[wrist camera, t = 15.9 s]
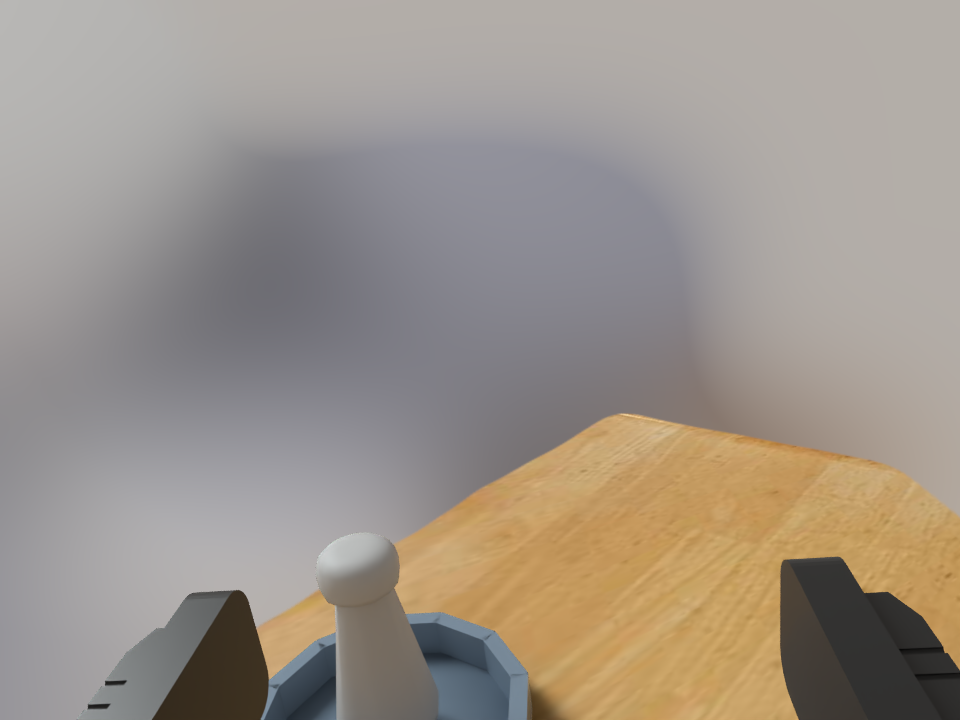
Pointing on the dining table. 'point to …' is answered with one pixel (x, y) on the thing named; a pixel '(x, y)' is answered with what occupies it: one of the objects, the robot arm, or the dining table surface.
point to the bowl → (450, 658)
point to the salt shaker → (373, 634)
